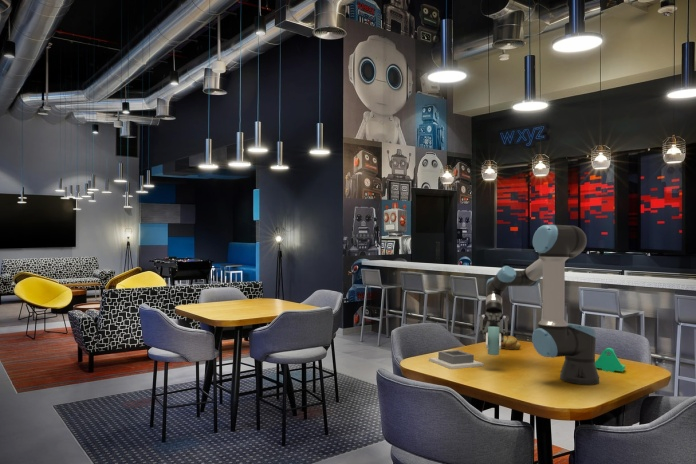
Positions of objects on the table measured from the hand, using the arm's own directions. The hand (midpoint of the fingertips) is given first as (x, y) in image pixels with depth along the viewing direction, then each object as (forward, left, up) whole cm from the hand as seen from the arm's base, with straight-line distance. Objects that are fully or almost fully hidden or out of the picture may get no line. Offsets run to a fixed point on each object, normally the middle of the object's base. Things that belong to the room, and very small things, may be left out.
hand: (493, 346), depth 241 cm
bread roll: (+39, -42, -11) cm, 59 cm away
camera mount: (-16, -53, -11) cm, 57 cm away
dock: (+19, +7, -11) cm, 22 cm away
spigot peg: (+3, -2, -4) cm, 5 cm away
